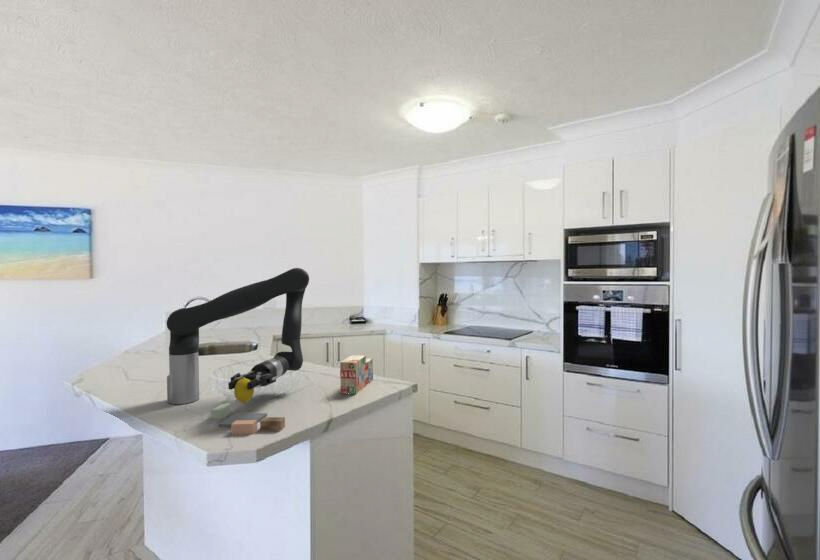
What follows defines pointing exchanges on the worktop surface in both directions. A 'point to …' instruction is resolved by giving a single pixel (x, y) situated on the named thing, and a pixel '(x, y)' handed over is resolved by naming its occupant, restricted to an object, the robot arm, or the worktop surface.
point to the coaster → (242, 418)
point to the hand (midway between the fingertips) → (239, 386)
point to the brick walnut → (272, 423)
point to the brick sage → (221, 411)
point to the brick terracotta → (244, 427)
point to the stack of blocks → (355, 373)
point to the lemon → (243, 390)
